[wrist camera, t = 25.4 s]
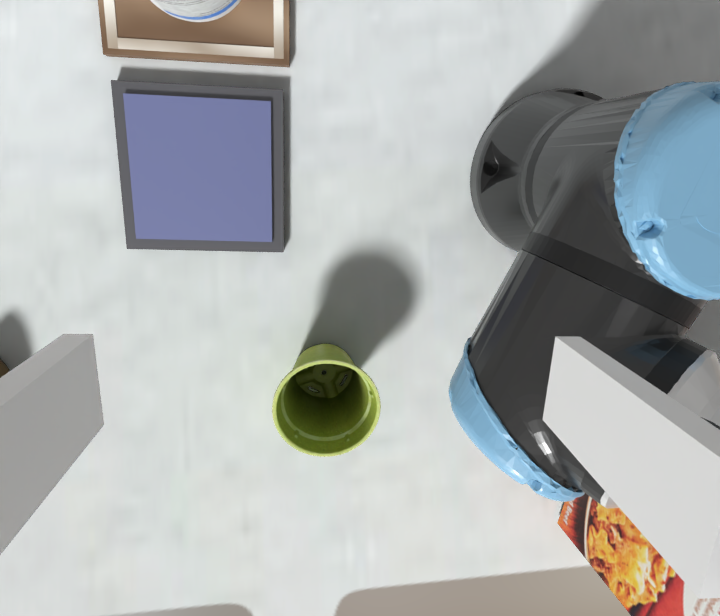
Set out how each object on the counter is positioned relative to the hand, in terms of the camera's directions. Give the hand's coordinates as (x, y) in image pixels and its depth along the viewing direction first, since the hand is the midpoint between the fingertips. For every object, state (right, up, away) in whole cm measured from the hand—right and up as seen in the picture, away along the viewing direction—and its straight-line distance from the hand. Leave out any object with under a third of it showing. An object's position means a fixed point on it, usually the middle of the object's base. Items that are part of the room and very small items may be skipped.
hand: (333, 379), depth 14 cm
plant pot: (-3, -4, +37) cm, 38 cm away
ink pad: (-13, +14, +31) cm, 36 cm away
